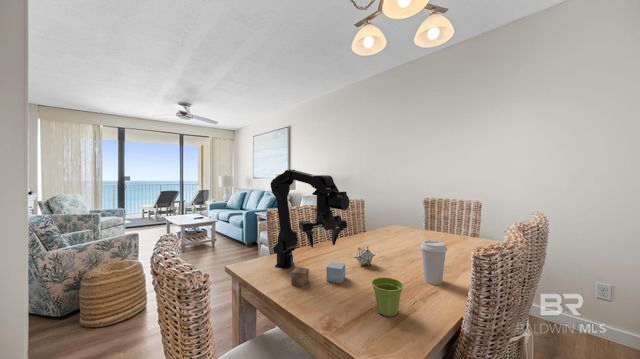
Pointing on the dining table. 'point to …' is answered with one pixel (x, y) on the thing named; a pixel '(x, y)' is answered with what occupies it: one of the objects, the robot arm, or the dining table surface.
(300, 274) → the walnut cube
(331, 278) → the slab bottom
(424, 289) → the dining table surface
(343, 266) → the slab top
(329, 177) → the robot arm
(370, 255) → the game die
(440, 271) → the coffee cup
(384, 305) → the plant pot
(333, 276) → the slab middle
